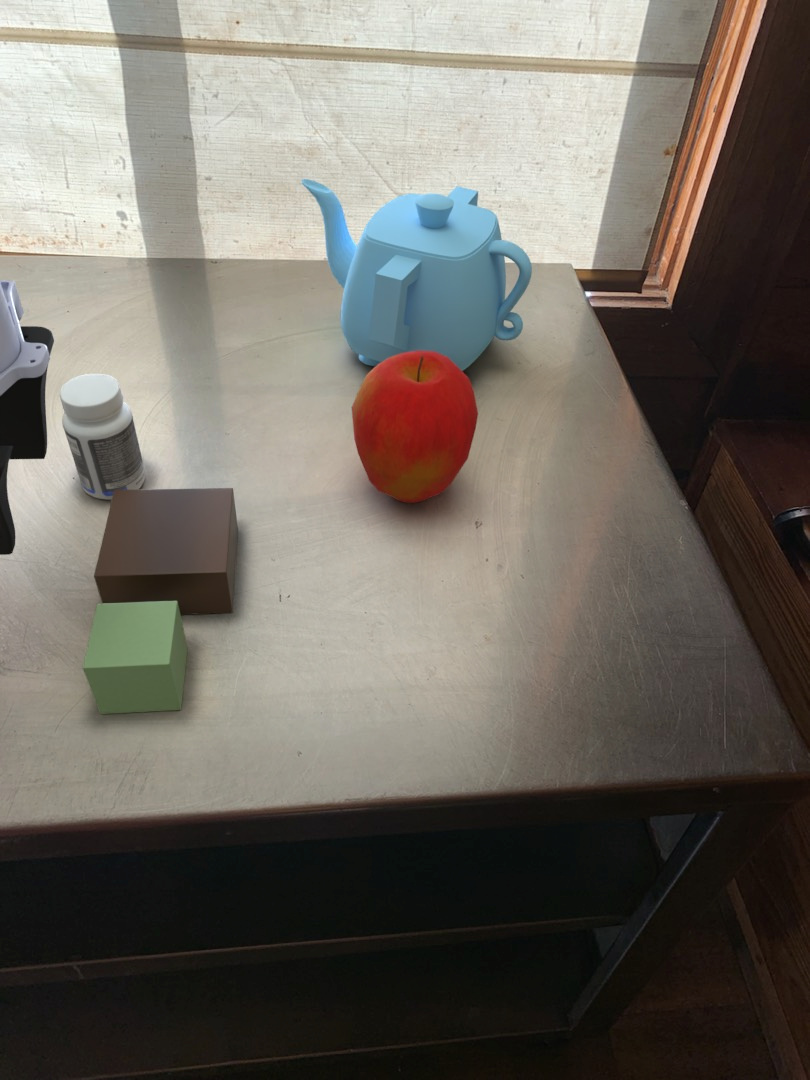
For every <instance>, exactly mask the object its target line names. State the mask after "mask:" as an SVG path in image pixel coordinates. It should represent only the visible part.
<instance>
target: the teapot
mask: <svg viewBox="0 0 810 1080" xmlns="http://www.w3.org/2000/svg"><path fill="white" fill-rule="evenodd" d="M300 182H301V184H302V185H303V187H304V188H305V189H307V190H308V192H309V193H310V194H311V195H312V197H314V199H315V201H316V202H317V204H318V206H319V208H320V211H321V216H322V220H323V226H324V237H325V238H324V239H325V240H324V241H325V252H326V253H325V254H326V259H327V264H328V267H329V269H330V271H331V274H332V276H333V277H334V279H335V280H336V281H337V283H338V284H339V285H340V286H341V287H342V288H343V294H342V300H341V308H340V327H341V332H342V334H343V336H344V338H345V340H346V342H347V344H348V345H349V347H350V349H351V350H352V351H353V352H354V353H355V354H357V355H358V360H359V361H360V362H361V363H362V364H364V365H367V366H370V367H371V366H372V367H376V366H377V365H378V364H379V363H381V362H383V361H384V360H386V359H387V358H389V357H392V356H395V355H398V354H401V353H405V352H412V351H434V352H437V353H439V354H441V355H444V356H446V357H448V358H449V359H450V360H451V361H452V362H453V363H454V364H455V365H456V366H457V367H458V368H459V369H460V370H461V371H462V372H464V371H465V370H466V369H467V368H469V367H470V366H471V365H472V364H473V363H474V362H475V361H476V360H477V359H478V358H479V357H480V356H481V355H482V354H483V352H484V351H485V350H486V349H487V348H488V346H489V345H490V343H491V342H492V341H493V339H494V338H496V339H497V340H500V341H513V340H516V339H517V338H518V337H519V336H520V335H521V334H522V331H523V328H524V321H523V318H522V316H521V315H520V314H518V313H517V312H513V311H512V310H513V309H514V308H515V306H516V305H517V303H518V302H519V301H520V299H521V298H522V297H523V295H524V293H525V292H526V290H527V289H528V286H529V285H530V282H531V278H532V273H533V267H532V262H531V259H530V257H529V256H528V254H527V253H526V252H525V250H524V249H523V248H522V247H521V246H520V245H518V244H516V243H514V242H512V241H509V240H505V239H502V235H501V234H502V233H501V227H500V224H499V220H498V216H497V214H496V213H494V212H493V211H492V210H491V209H488V208H485V207H482V206H481V207H480V206H478V202H479V190H475V189H471V188H467V187H462V186H458V185H456V186H455V187H454V188H453V189H452V190H451V192H450V193H449V194H448V195H444V194H441V193H424V194H421V193H405V194H403V195H399V196H397V197H395V198H393V199H391V200H390V201H388V202H387V203H385V204H384V205H382V207H380V208H379V209H377V211H376V212H375V213H374V214H373V215H372V216H371V217H370V219H369V220H368V221H367V223H366V225H365V227H364V229H363V231H362V233H361V236H360V238H359V239H358V243H357V244H356V242H355V241H354V240H353V238H352V235H351V233H350V231H349V229H348V225H347V220H346V217H345V213H344V210H343V205H342V204H341V201H340V199H339V198H338V197H337V195H336V194H335V192H334V191H332V189H330V188H329V187H328V186H327V185H325V184H323V183H320V182H318V181H316V180H312V179H309V178H302V179H301V181H300ZM505 258H508V259H509V260H511V261H512V262H514V264H515V265H516V266H517V268H518V270H519V271H518V272H519V274H518V277H517V280H516V282H515V285H514V286H513V287H512V290H511V291H510V292H509V294H508V295H507V297H506V291H507V288H506V287H507V280H506V279H507V274H506V273H507V272H506V259H505ZM511 311H512V312H511ZM505 321H507V322H510V323H511V324H512V326H511V327H507V326H505V324H504V323H505Z"/></svg>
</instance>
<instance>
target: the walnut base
mask: <svg viewBox="0 0 810 1080" xmlns="http://www.w3.org/2000/svg"><path fill="white" fill-rule="evenodd" d="M235 501H236V500H235V493H234V488H233V487H198V488H197V487H195V488H150V489H149V488H148V489H146V488H143V489H140V488H139V489H138V490H114V492H113V497H112V499H111V500H110V504H109V510H108V515H107V518H106V522H105V527H104V530H103V534H102V535H103V536H102V540H101V544H100V548H99V553H98V558H97V561H96V566H95V570H94V575H93V577H94V581H95V583H96V587H97V591H98V593H99V597H100V599H101V604H104V603H130V602H157V601H177V602H178V606H179V610H180V615H181V616H182V615H203V614H231V613H233V609H234V595H235V594H234V593H235V581H236V580H235V578H236V565H237V562H236V561H237V548H238V535H239V533H238V531H239V530H238V529H239V526H238V519H237V510H236V502H235Z"/></svg>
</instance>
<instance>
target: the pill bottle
mask: <svg viewBox="0 0 810 1080" xmlns="http://www.w3.org/2000/svg"><path fill="white" fill-rule="evenodd" d="M59 398H60V402H61V407H62V409H63V414H62V419H61V422H62V428H63V431H64V434H65V437H66V440H67V443H68V446H69V450H70V452H71V453H70V454H71V456H72V458H73V462H74V465H75V466H74V467H75V468H76V472H77V475H78V479H79V482H80V484H81V487H82V489H83V491H84V492H85V493H86V494H88V495H89V496H91V497H93V498H96V499H100V500H108V501H109V500H110V501H112V497H113V492H114V490H139V489H140V488H141V487H142V486H143V484H144V482H145V479H146V469H145V464H144V461H143V457H142V452H141V449H140V444H139V439H138V435H137V430H136V426H135V421H134V416H133V412H132V410H131V408H130V406H129V405H128V404H127V403H126V401H124V395H123V392H122V389H121V385H120V383H119V381H118V380H117V379H116V378H115V377H113V376H111V375H108V374H104V373H97V372H96V373H95V372H94V373H93V372H92V373H85V374H80V375H78V376H75V377H72V378H71V379H69V380H67V381H66V382H64V383H63V385H62V386H61V388H60V390H59Z"/></svg>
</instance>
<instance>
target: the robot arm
mask: <svg viewBox="0 0 810 1080" xmlns="http://www.w3.org/2000/svg"><path fill="white" fill-rule="evenodd" d="M24 313H25V311H24V307H23V304H22V302H21V298H20V294H19V291H18V288H17V285H16V282H15V280H13V279H12V280H4V279H3V280H1V279H0V556H7V555H9V556H10V555H11V554H13V553H14V550H15V546H16V538H17V537H16V527H15V523H14V519H13V514H12V510H11V506H10V501H9V493H8V492H9V491H8V471H9V463H10V460H44V459H46V455H47V451H48V426H47V425H48V424H47V410H46V406H47V405H46V387H47V386H46V385H47V384H46V383H47V375H48V368H49V363H50V360H51V354H52V350H53V347H54V343H55V338H54V335H53V332H52V331H51V330H50V329H49V328H47V327H44V326H33V325H32V326H31V325H29V326H28V325H25V326H23V325H20V321H21V320H22V319H23V316H24Z"/></svg>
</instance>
